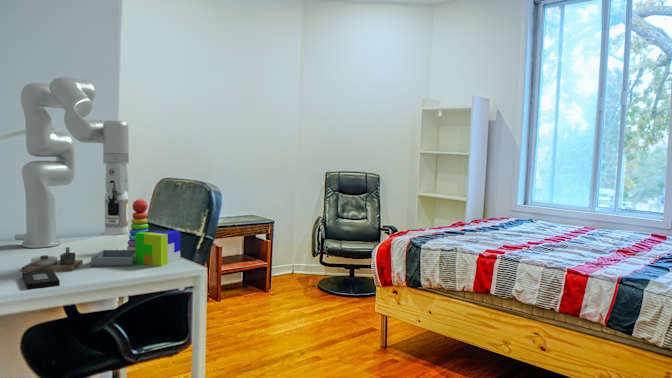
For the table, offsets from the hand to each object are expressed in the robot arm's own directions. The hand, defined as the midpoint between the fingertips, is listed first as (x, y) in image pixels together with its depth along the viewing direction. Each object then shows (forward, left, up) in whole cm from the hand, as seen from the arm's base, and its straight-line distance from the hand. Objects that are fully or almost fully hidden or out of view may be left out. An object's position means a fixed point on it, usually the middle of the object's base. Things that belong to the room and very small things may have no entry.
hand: (116, 213), depth 164 cm
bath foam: (0, 0, -7) cm, 7 cm away
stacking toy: (+3, +19, -16) cm, 25 cm away
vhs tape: (-15, -23, -17) cm, 32 cm away
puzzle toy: (+13, 0, -16) cm, 21 cm away
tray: (0, 0, -16) cm, 16 cm away
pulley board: (-17, -6, -16) cm, 24 cm away
